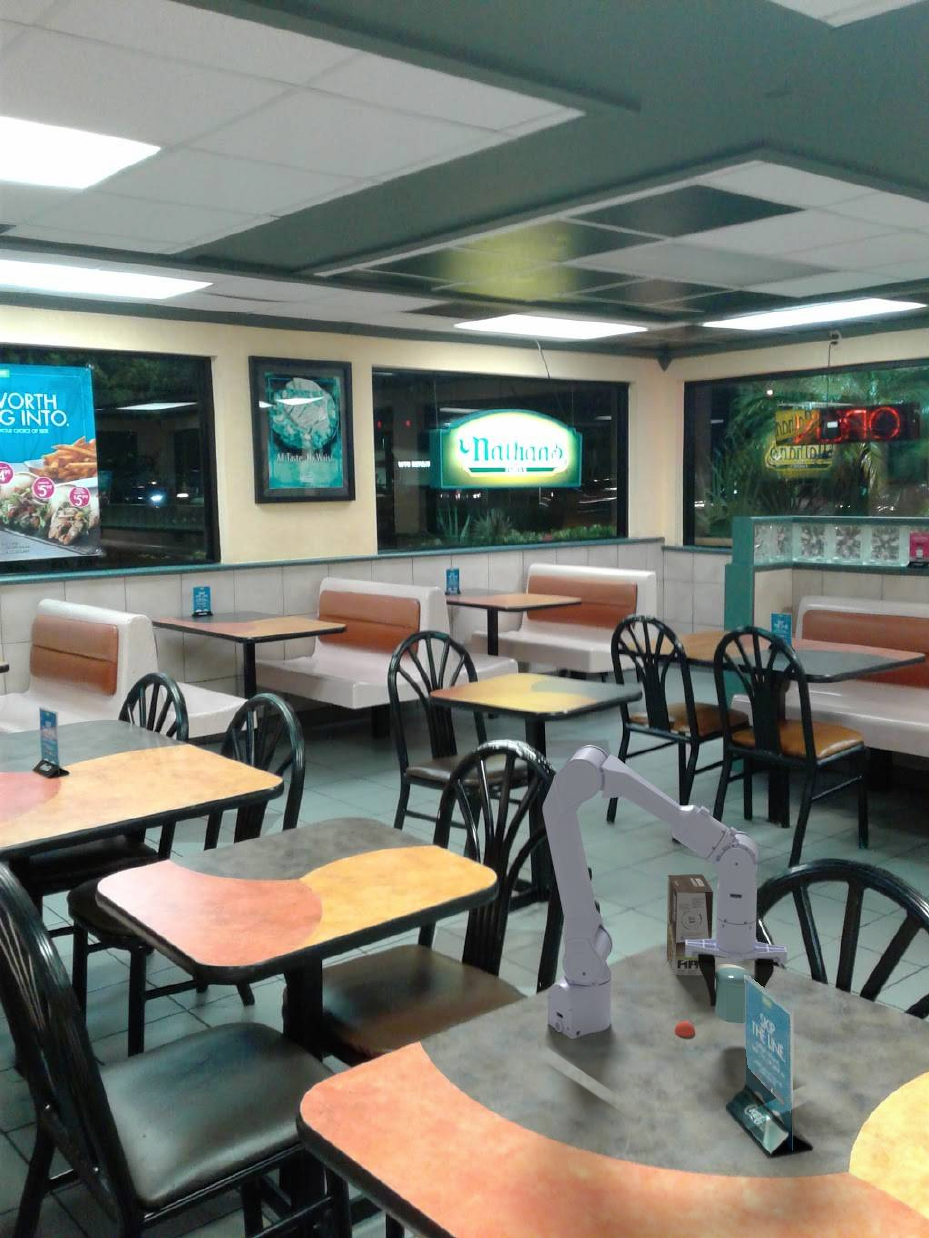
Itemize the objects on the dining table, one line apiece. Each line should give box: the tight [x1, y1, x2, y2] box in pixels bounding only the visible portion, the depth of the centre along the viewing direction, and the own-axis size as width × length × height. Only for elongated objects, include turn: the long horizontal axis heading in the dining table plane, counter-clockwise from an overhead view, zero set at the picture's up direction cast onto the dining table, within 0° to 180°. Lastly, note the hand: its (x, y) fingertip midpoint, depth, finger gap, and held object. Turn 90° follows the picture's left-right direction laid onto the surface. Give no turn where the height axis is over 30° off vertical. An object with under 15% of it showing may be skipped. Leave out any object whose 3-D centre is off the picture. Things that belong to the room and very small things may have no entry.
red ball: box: [674, 1020, 696, 1038], centre depth 167 cm, size 3×3×3 cm
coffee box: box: [666, 873, 714, 976], centre depth 190 cm, size 9×6×16 cm
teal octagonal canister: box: [714, 967, 755, 1024], centre depth 164 cm, size 6×6×6 cm
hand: (734, 1004), depth 164 cm, fingers closed on teal octagonal canister, 5 cm apart
